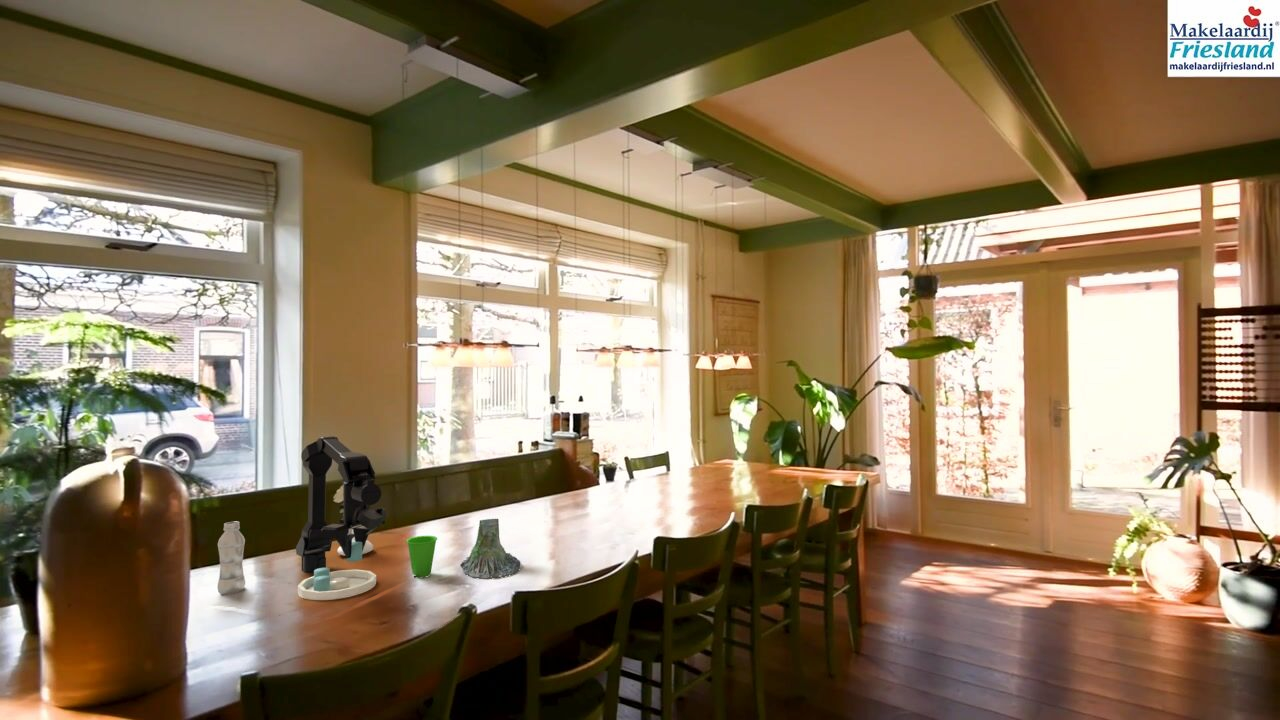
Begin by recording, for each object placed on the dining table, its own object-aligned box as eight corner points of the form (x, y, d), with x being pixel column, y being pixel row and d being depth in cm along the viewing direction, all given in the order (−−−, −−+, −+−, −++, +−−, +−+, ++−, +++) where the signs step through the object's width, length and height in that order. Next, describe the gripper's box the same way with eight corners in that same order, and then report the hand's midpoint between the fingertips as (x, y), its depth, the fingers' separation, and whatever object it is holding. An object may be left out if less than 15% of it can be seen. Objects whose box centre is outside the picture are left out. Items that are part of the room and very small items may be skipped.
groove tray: (281, 599, 175) (281, 588, 175) (336, 576, 194) (336, 567, 194) (339, 607, 169) (339, 595, 169) (390, 583, 188) (390, 573, 188)
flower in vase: (361, 547, 226) (362, 477, 227) (380, 552, 220) (380, 480, 220) (325, 556, 216) (326, 482, 216) (343, 562, 209) (344, 485, 210)
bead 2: (355, 562, 177) (355, 545, 177) (343, 560, 178) (343, 544, 178) (365, 558, 181) (365, 542, 181) (354, 556, 182) (354, 541, 182)
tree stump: (462, 584, 188) (458, 522, 192) (460, 580, 206) (457, 523, 211) (524, 574, 194) (519, 514, 198) (517, 571, 212) (513, 516, 216)
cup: (427, 580, 190) (427, 543, 190) (400, 579, 191) (400, 542, 192) (442, 571, 198) (442, 536, 199) (416, 570, 200) (416, 534, 200)
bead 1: (321, 591, 178) (321, 575, 178) (333, 592, 177) (333, 576, 177) (310, 595, 174) (310, 579, 175) (321, 597, 173) (321, 580, 173)
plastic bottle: (250, 591, 181) (251, 521, 182) (228, 599, 175) (229, 526, 175) (234, 589, 183) (234, 519, 184) (211, 596, 177) (212, 524, 178)
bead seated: (310, 587, 182) (310, 571, 182) (321, 582, 186) (321, 567, 186) (321, 588, 181) (321, 572, 181) (332, 583, 184) (332, 568, 184)
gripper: (352, 508, 169) (352, 568, 168) (400, 495, 186) (400, 549, 186) (319, 506, 172) (319, 564, 172) (369, 493, 190) (369, 546, 189)
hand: (354, 555), depth 180 cm, fingers closed on bead 2, 4 cm apart
